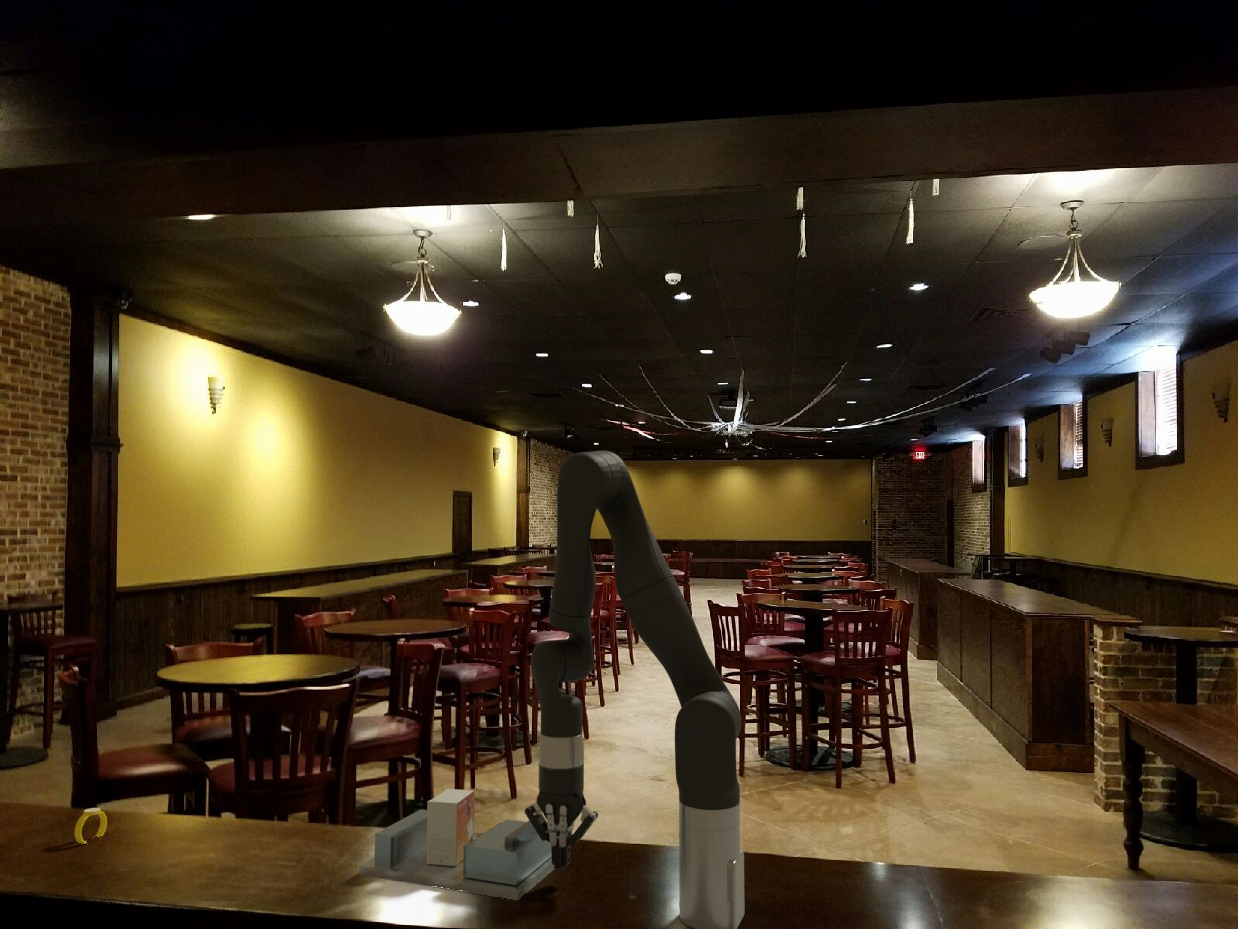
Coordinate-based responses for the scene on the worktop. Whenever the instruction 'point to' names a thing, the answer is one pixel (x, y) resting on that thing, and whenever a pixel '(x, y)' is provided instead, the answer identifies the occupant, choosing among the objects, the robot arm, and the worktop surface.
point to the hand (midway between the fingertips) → (560, 867)
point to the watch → (82, 819)
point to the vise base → (407, 862)
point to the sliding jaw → (505, 853)
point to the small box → (449, 826)
